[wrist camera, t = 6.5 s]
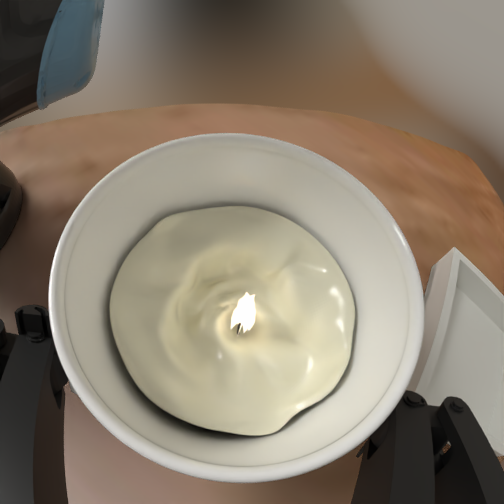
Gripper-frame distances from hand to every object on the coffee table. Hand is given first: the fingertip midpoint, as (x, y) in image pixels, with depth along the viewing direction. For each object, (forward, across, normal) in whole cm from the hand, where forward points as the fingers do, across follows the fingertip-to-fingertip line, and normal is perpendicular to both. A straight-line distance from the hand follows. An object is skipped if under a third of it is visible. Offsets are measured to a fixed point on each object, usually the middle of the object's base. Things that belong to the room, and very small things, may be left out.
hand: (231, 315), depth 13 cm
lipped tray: (+4, +23, -5) cm, 24 cm away
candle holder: (+2, 0, -4) cm, 5 cm away
